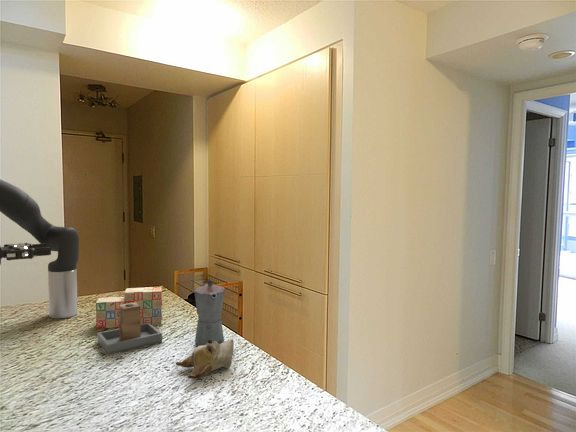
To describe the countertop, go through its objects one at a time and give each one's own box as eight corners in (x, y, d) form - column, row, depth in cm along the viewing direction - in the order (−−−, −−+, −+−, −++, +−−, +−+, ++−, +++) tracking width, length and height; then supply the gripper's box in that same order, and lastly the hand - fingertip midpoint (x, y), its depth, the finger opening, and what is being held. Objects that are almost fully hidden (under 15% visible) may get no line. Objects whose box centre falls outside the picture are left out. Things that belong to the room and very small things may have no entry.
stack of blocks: (95, 329, 133) (95, 293, 132) (99, 323, 139) (99, 289, 138) (161, 324, 138) (161, 290, 137) (162, 319, 144) (162, 286, 143)
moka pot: (200, 353, 114) (200, 287, 113) (187, 335, 128) (187, 276, 127) (230, 348, 119) (231, 283, 117) (215, 331, 132) (216, 273, 131)
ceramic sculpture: (241, 339, 103) (187, 355, 95) (243, 370, 104) (189, 389, 96) (224, 327, 112) (173, 341, 104) (226, 356, 113) (175, 372, 104)
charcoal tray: (97, 342, 121) (97, 332, 121) (148, 331, 131) (148, 322, 131) (107, 355, 112) (107, 345, 112) (162, 342, 122) (162, 333, 122)
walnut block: (119, 339, 122) (118, 304, 121) (135, 335, 125) (135, 301, 124) (123, 344, 118) (123, 308, 117) (140, 340, 121) (140, 305, 120)
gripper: (-23, 243, 98) (52, 239, 108) (-23, 237, 109) (45, 233, 119) (-22, 272, 99) (52, 265, 109) (-22, 263, 110) (45, 258, 120)
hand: (48, 249), depth 114 cm, fingers open, 8 cm apart
